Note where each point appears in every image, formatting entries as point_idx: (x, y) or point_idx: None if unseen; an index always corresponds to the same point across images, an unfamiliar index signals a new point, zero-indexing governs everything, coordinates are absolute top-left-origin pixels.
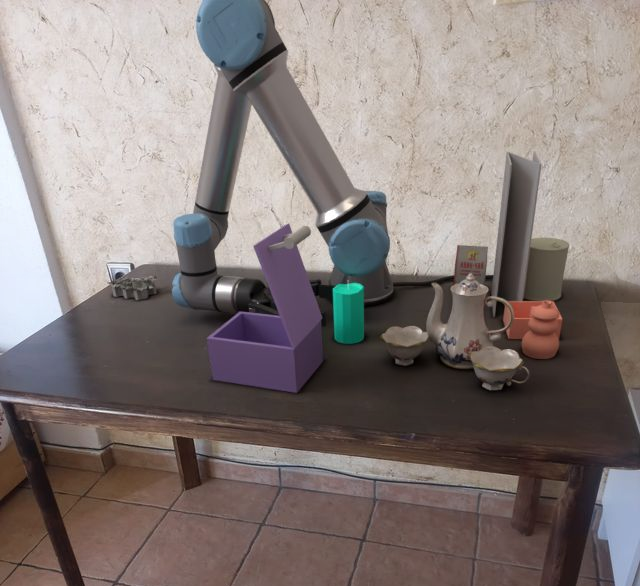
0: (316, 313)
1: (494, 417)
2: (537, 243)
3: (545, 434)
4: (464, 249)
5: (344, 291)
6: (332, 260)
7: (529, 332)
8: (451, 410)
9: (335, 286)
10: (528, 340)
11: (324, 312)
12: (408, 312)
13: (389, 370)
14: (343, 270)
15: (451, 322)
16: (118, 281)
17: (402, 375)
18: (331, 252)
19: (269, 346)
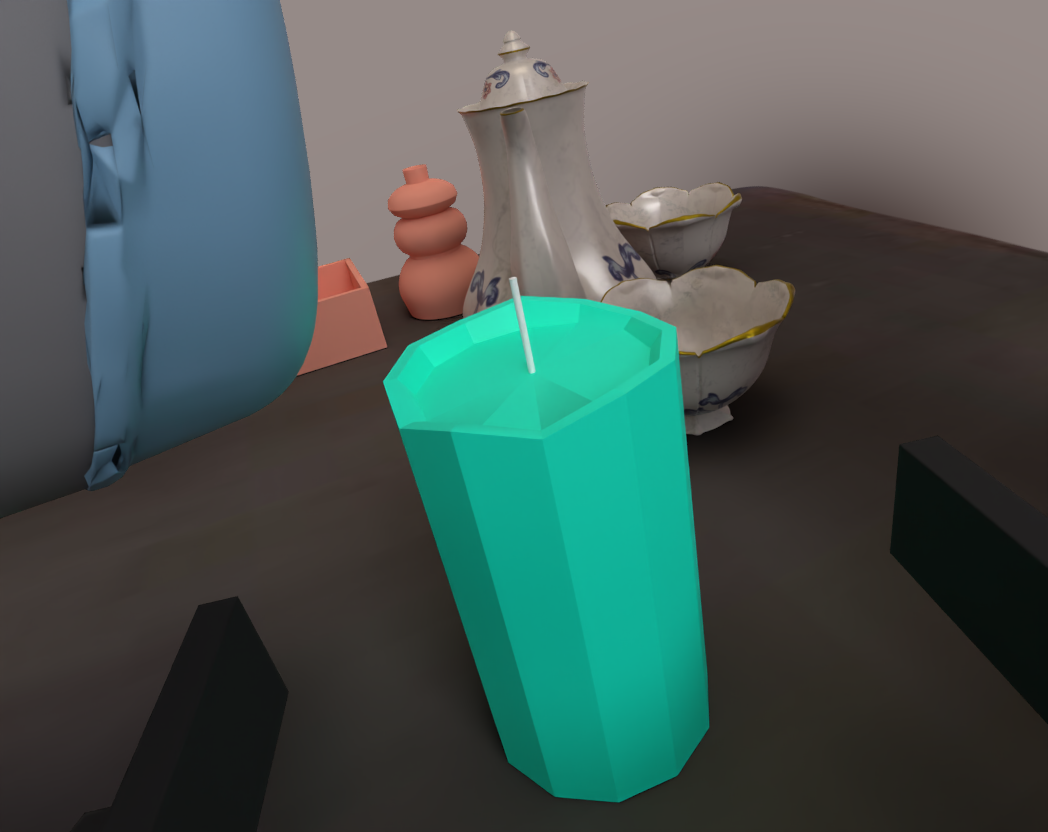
0: None
1: (811, 243)
2: None
3: (794, 212)
4: None
5: (580, 369)
6: (286, 206)
7: (439, 261)
8: (864, 271)
9: (169, 734)
10: (468, 266)
11: (923, 442)
12: (144, 614)
13: (799, 411)
14: (314, 323)
15: (591, 212)
16: None
17: (796, 378)
18: (272, 34)
19: None
